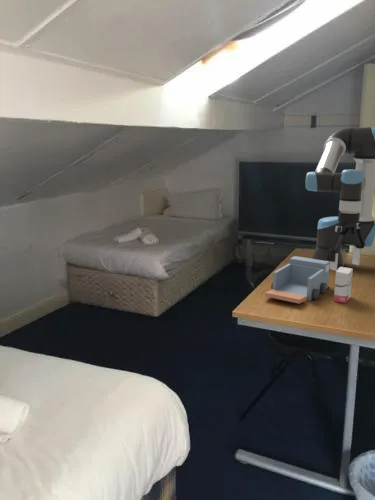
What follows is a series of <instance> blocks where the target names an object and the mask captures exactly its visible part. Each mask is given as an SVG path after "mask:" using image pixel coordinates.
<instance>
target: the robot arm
mask: <svg viewBox="0 0 375 500" xmlns="http://www.w3.org/2000/svg"><path fill="white" fill-rule="evenodd" d="M343 155H352V159H353V160H354V162H355V163H356V165H355V169H353V168H352V169H350V168H349V169H343V170H342V171H341V172H336V170H337V167H338V165H339V162H340V160H341V157H342V156H343ZM305 189H306V190H307V191H310V192H311V191H312V192H316V193H317V192H321V193H322V192H323V193H324V192H325V193H340V195H339V205H338V206H339V207H338V211H339V212H338V216H327V217H322V218H320V219H319V220H318V222H317V232H316V247H315V251H314V253H313V255H312V257H311V259H317V260H324V261H330V265H329V270H331V271H335V272H336V271H337V270H338V269H339V268H340V267H344V266H345V260H344V256H343V253H342V252H343V251H342V246H351V247H353V249H352V260H351V261H352V262H351V264H352V265H356V266H360V260H361V251H362V249H365V248H371V247H372V246H373V245H374V241H375V217H374V216H373V204H374V194H375V127H373V126H371V127H370V126H369V127H344V128H341V129H338V130H336V131H335V132H333V133H332V134H330V136H328V138H327V139H326V140H325V142H324V145H323V153H322V155H321V156H320V159H319V161H318V164H317V166H316V169H315V171H308V172H307V173H306V176H305Z"/></svg>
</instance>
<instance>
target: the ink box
mask: <svg viewBox="0 0 375 500" xmlns="http://www.w3.org/2000/svg"><path fill="white" fill-rule="evenodd" d="M353 271H354V270H353V268H350V267H344V266H343V267H340V268H337V271H335V277H334V278H335V280H334V281H335V282H334V292H333V293H334V294H333V302H338V303H343V304H347V302H348V301H349V300H350V298H351V293H352V283H353V282H352V281H353Z"/></svg>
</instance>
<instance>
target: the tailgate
mask: <svg viewBox="0 0 375 500" xmlns="http://www.w3.org/2000/svg"><path fill="white" fill-rule="evenodd" d="M265 297H266V298H270V299H271V298H272V299H276V300H279V301H280V300H281V301H285V302H290V303H295V304H298V305H299V304H302V303H303V302H306V301H305V300H307V296H305V295H300V294H295V293H290V292H285V291H280V290H275V289H273V290H271V289H270V290H267V291H265V292H264V298H265Z"/></svg>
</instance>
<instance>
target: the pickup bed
mask: <svg viewBox="0 0 375 500" xmlns="http://www.w3.org/2000/svg"><path fill="white" fill-rule="evenodd" d="M329 265H330V261H324V260H317V259H312V258H311V257H310V258H309V257H303V256H296V255H294V256H292V257H290V258H289V263H287V264H286V265H284V266H282V267H280V268H278V269H277V270H275V271H273V273H272V274H273V275H272V282H271V286H270V290H273V289H275V290H280V291H285V292H290V293H295V294H300V295H305V296H307V300H305V301H304V302H311V301H312V300H318V299H319V296H320V293H322V294H325V293H326V292H327V290H328V288H329V278H330V277H329V275H330V268H329Z"/></svg>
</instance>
